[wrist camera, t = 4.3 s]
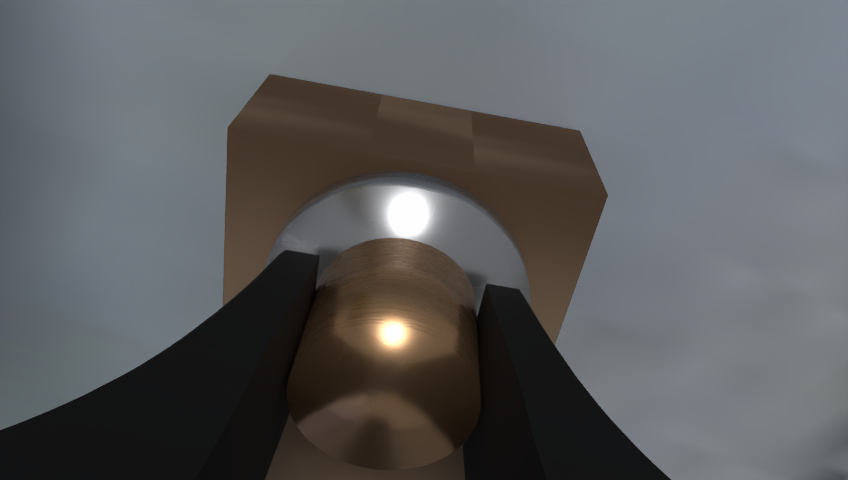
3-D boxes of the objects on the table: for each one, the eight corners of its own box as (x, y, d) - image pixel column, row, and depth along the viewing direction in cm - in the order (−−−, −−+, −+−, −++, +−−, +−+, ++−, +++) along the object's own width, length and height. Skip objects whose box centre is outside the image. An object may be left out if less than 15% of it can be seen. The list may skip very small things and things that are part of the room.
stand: (456, 522, 22) (456, 619, 20) (244, 491, 22) (215, 585, 19) (579, 131, 15) (608, 194, 12) (269, 74, 15) (227, 127, 12)
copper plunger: (487, 310, 17) (503, 528, 12) (294, 277, 17) (218, 486, 12) (538, 129, 15) (589, 301, 9) (311, 87, 14) (225, 239, 9)
